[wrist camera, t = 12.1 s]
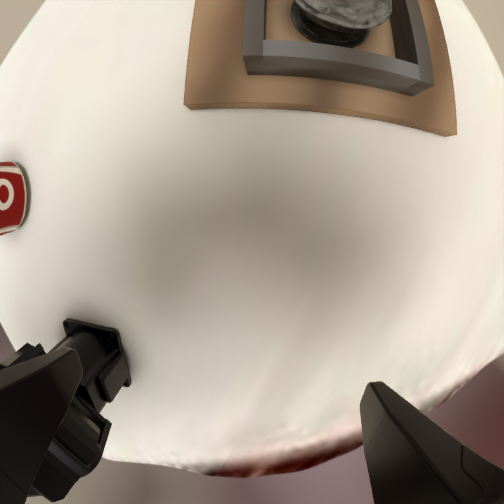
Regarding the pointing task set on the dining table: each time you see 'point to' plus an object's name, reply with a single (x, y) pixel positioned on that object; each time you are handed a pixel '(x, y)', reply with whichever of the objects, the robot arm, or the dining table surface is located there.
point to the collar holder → (321, 65)
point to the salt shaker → (339, 20)
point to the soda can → (11, 197)
